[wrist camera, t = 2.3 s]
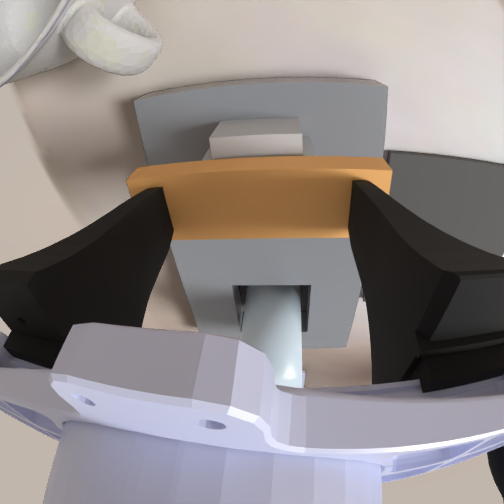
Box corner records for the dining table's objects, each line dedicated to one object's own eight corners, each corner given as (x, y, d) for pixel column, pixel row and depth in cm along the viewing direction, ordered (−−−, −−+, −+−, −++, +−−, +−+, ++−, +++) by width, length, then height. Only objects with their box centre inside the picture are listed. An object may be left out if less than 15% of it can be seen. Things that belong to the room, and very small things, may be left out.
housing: (343, 328, 25) (348, 374, 22) (208, 327, 27) (198, 371, 23) (375, 80, 13) (409, 97, 9) (148, 92, 14) (107, 114, 11)
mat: (481, 290, 21) (483, 293, 21) (362, 297, 23) (363, 301, 23) (529, 169, 14) (532, 172, 14) (388, 150, 15) (390, 153, 15)
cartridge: (299, 307, 24) (300, 399, 18) (249, 307, 25) (238, 398, 18) (300, 270, 22) (304, 371, 15) (244, 270, 22) (230, 370, 16)
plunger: (362, 192, 15) (381, 237, 12) (170, 197, 16) (145, 240, 13) (367, 136, 13) (392, 170, 10) (158, 145, 14) (125, 180, 11)
